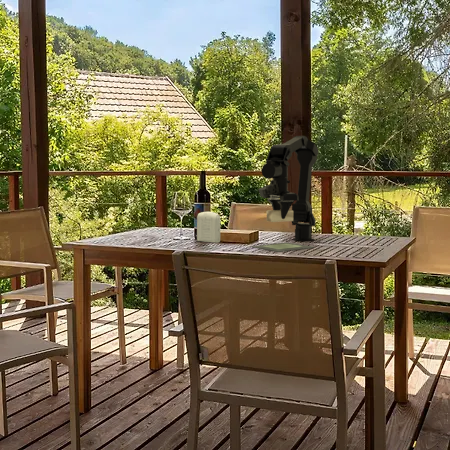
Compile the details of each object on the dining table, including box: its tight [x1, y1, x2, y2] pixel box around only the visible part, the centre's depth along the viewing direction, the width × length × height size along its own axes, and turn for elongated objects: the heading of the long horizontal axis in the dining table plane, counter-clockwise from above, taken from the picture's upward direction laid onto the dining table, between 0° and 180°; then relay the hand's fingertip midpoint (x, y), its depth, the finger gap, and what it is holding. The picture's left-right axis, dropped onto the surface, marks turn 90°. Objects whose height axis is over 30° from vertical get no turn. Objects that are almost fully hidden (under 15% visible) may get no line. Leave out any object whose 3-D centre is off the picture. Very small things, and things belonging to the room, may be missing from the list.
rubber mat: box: [251, 241, 315, 253], centre depth 269 cm, size 18×16×1 cm
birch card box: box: [266, 209, 293, 223], centre depth 269 cm, size 5×9×4 cm, turn 113°
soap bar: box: [196, 211, 221, 244], centre depth 285 cm, size 10×4×12 cm, turn 56°
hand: (279, 218), depth 270 cm, fingers closed on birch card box, 5 cm apart
